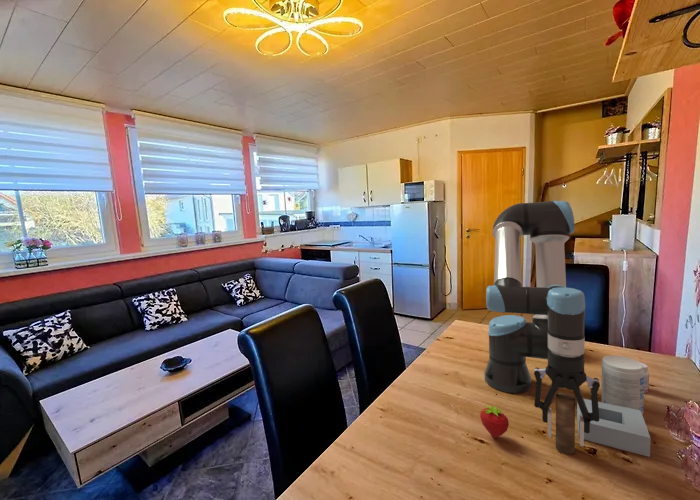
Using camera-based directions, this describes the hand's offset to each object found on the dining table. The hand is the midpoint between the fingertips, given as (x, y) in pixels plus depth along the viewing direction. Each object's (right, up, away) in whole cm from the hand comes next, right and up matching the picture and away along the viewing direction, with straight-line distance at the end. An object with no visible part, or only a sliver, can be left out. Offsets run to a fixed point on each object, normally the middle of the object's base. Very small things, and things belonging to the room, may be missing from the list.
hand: (565, 438), depth 82 cm
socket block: (+15, -1, +5) cm, 16 cm away
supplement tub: (+26, 0, +14) cm, 30 cm away
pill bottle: (+39, +2, +23) cm, 46 cm away
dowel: (0, -3, 0) cm, 3 cm away
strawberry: (-15, -4, +6) cm, 17 cm away
